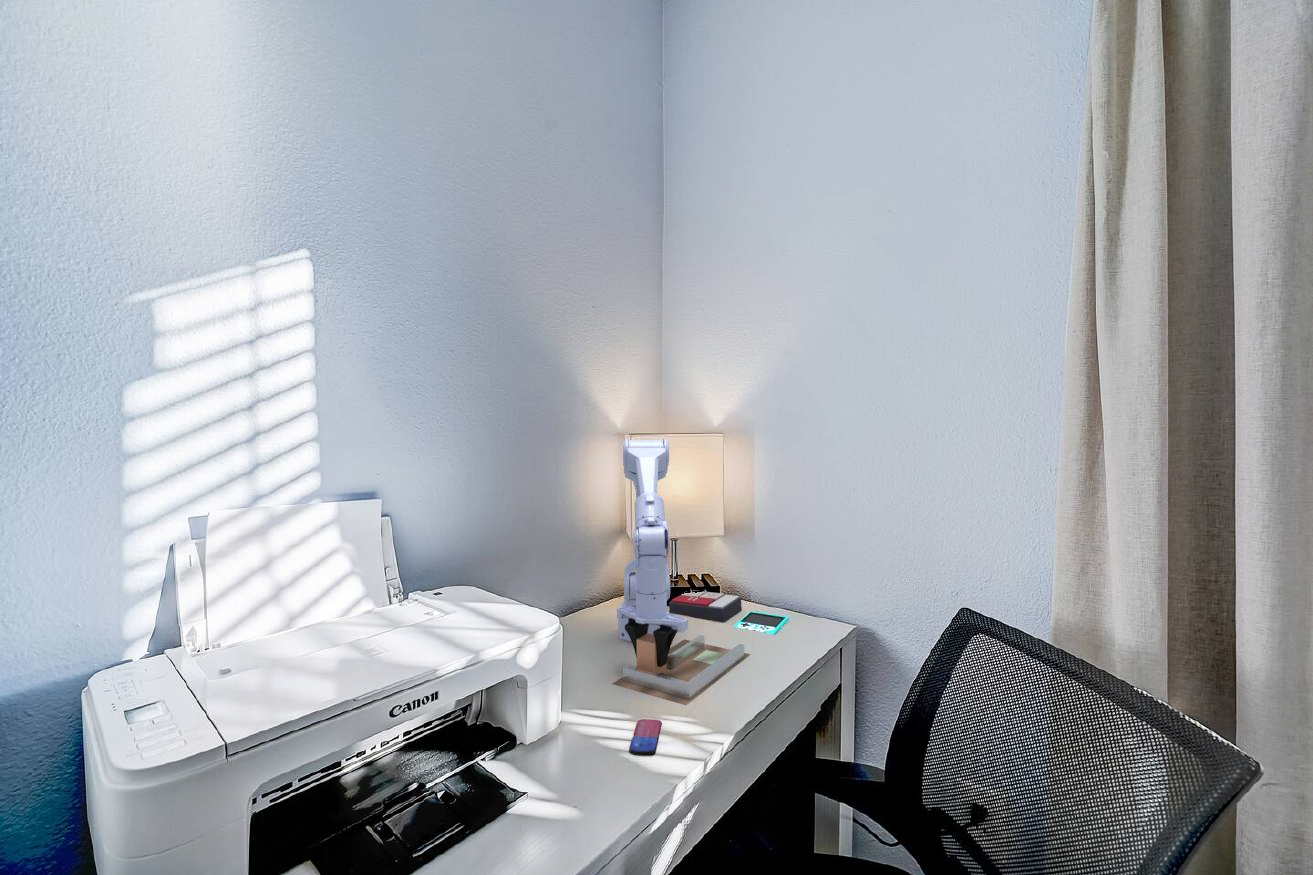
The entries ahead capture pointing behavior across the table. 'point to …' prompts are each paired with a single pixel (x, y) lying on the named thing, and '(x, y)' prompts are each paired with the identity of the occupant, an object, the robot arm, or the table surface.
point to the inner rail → (685, 652)
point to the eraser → (645, 737)
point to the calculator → (706, 606)
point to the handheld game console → (762, 622)
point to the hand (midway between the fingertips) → (651, 662)
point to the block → (648, 654)
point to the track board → (685, 671)
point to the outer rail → (679, 686)
